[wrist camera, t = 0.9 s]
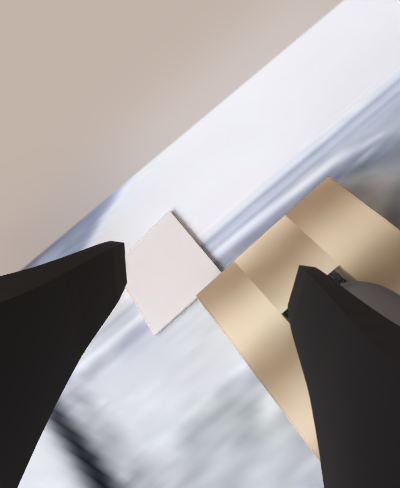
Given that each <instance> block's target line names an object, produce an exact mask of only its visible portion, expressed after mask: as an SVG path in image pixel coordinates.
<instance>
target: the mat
mask: <svg viewBox="0 0 400 488" xmlns="http://www.w3.org/2000/svg"><path fill="white" fill-rule="evenodd" d="M125 260H126V274H127V284H126V287H125V289H126V290H127V292H128V294H129V295H130V297H131V298H132V300H133V302H134V303H135V305H136V307H137V308H138V310H139V311H140V313H141V315H142V316H143V318H144V320H145V321H146V323H147V324H148V326H149V328H150V329H151V331H152V333H153V334H154V335H157V334H158V333H159V332H160V331H161V330H162V329H164V328H165V327H166V326H167V325H168V324H169V323H170V322H171V321H172V320H174V319H175V318H176V317H177V316H178V315H179V314H180V313H181V312H182V311H184V310H185V309H186V308H187V307H188V306H189V305H190V304H191V303H192V302H194V301H195V300H196V299H197V296H196V295H197V294H198V293H199V292H200V291H201V290H202V289H204V288H205V287H206V286H207V285H208V284H209V283H210V282H211V281H212V280H214V279H215V278H216V277H217V276H218V275H219V274H220V273H221V271H220V270H219V268H218V267H217V266H216V265H215V264H214V263H213V261H212V260H211V259H210V258H209V257H208V255H207V254H206V253H205V252H204V251H203V249H202V248H201V247H200V246H199V245H198V243H197V242H196V241H195V240H194V239H193V237H192V236H191V235H190V234H189V233H188V232H187V230H186V229H185V228H184V227H183V226H182V224H181V223H180V222H179V221H178V220H177V218H176V217H175V216H174V215H173V214H172V212H170V211H169V212H168V213H167V214H166V215H164V216H163V217H162V218H161V219H160V220H159V221H158V222H157V223H156V224H155V225H154V226H153V227H152V228H151V229H150V230H149V231H148V232H147V233H146V234H145V235H144V236H143V237H142V238H141V239H140V240H139V241H138V242H137V243H136V244H135V245H134V246H133V247H132V248H131V249H130V250H129V251H128V252H127V253H126V254H125Z"/></svg>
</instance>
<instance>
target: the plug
mask: <svg viewBox="0 0 400 488" xmlns="http://www.w3.org/2000/svg"><path fill="white" fill-rule="evenodd" d="M340 285H341V286H342V287H344V288H345V289H346V290H348V291H349V292H350V293H352V294H353V295H354V296H356V297H357V298H358V299H360V300H361V301H363V302H364V303H365V304H367V305H368V306H370V307H371V308H373V309H374V310H376V311H377V312H379V313H380V314H381V315H383V316H384V317H386V318H387V319H389V320H391V321H392V322H394V323H395V324H397V325H399V326H400V295H398V294H397V293H395V292H394V291H392V290H390V289H388V288H386V287H384V286H381V285H378V284H375V283H371V282H364V281H351V282H345V283H341V284H340Z"/></svg>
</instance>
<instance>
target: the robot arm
mask: <svg viewBox="0 0 400 488" xmlns="http://www.w3.org/2000/svg"><path fill="white" fill-rule="evenodd" d="M126 284H127V274H126V260H125V247H124V243H122V242H114V241H108V242H104V243H101V244H98V245H95V246H92V247H90V248H87V249H84V250H82V251H79V252H76V253H74V254H71V255H68V256H66V257H63V258H60V259H57V260H54V261H51V262H48V263H45V264H42V265H39V266H36V267H33V268H29V269H26V270H22V271H19V272H15V273H11V274H7V275H3V276H0V488H17V487H18V485H19V483H20V480H21V478H22V476H23V474H24V472H25V469H26V467H27V465H28V463H29V460H30V458H31V456H32V454H33V451H34V449H35V447H36V445H37V442H38V440H39V438H40V436H41V434H42V432H43V430H44V428H45V426H46V424H47V422H48V420H49V417H50V415H51V413H52V411H53V409H54V407H55V405H56V403H57V401H58V399H59V397H60V395H61V394H62V392H63V390H64V388H65V386H66V384H67V382H68V380H69V378H70V376H71V375H72V373H73V371H74V369H75V367H76V365H77V364H78V362H79V360H80V358H81V356H82V355H83V353H84V352H85V350H86V348H87V347H88V345H89V344H90V342H91V341H92V339H93V338H94V337H95V335H96V334H97V332H98V331H99V329H100V328H101V326H102V325H103V323H104V322H105V321H106V319H107V318H108V316H109V315H110V313H111V312H112V310H113V309H114V307H115V306H116V304H117V303H118V301H119V299H120V297H121V295H122V293H123V291H124V289H125V287H126ZM288 314H289V322H290V328H291V332H292V336H293V339H294V343H295V346H296V350H297V353H298V357H299V360H300V364H301V367H302V370H303V374H304V377H305V381H306V384H307V389H308V393H309V397H310V402H311V408H312V413H313V419H314V424H315V430H316V436H317V442H318V449H319V455H320V461H321V468H322V475H323V482H324V488H400V326H399V325H397V324H395V323H394V322H392V321H391V320H389V319H387V318H386V317H384V316H383V315H381V314H380V313H379V312H377V311H376V310H374V309H373V308H371V307H370V306H368V305H367V304H365V303H364V302H363V301H361V300H360V299H358V298H357V297H356V296H354V295H353V294H352V293H350V292H349V291H348V290H346V289H345V288H344V287H342V286H341V285H340V284H338V283H337V282H336V281H334V280H333V279H332V278H330V277H329V276H328V275H326V274H325V273H324V272H322V271H321V270H319V269H318V268H316V267H311V266H303V265H299V267H298V271H297V274H296V278H295V281H294V285H293V288H292V292H291V295H290V299H289V302H288Z"/></svg>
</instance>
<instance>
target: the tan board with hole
mask: <svg viewBox="0 0 400 488" xmlns="http://www.w3.org/2000/svg"><path fill="white" fill-rule="evenodd" d="M299 265H303V266H311V267H316V268H318V269H319V270H321V271H322V272H324V273H325V274H326V275H328V274H329V273H330V272H332V271H333V270H335V271H336V272H337V273H338V274H339V275H340V276H341V277H342V278H343V279H344V280H345V281H347V282H351V281H364V282H371V283H375V284H378V285H381V286H384V287H386V288H388V289H390V290H392V291H394V292H395V293H397V294H398V295H400V230H399V229H398V228H396V227H395V226H394V225H392V224H391V223H390V222H388V221H387V220H386V219H384V218H383V217H382V216H380V215H379V214H378V213H376V212H375V211H374V210H372V209H371V208H370V207H368V206H367V205H366V204H364V203H363V202H362V201H360V200H359V199H358V198H356V197H355V196H354V195H353V194H351V193H350V192H349V191H347V190H346V189H345V188H343V187H342V186H341V185H339V184H338V183H337V182H335V181H334V180H333V179H331V178H330V177H329V176H328V177H326V178H325V179H324V180H323V181H322V182H321V183H320V184H319V185H318V186H316V187H315V188H314V189H313V190H312V191H311V192H310V193H309V194H308V195H306V196H305V197H304V198H303V199H302V200H301V201H300V202H299V203H298V204H297V205H295V206H294V207H293V208H292V209H291V210H290V211H289V212H288V213H287V214H285V215H284V216H283V217H282V218H281V219H280V220H279V221H278V222H277V223H276V224H274V225H273V226H272V227H271V228H270V229H269V230H268V231H267V232H266V233H264V234H263V235H262V236H261V237H260V238H259V239H258V240H257V241H256V242H254V243H253V244H252V245H251V246H250V247H249V248H248V249H247V250H246V251H245V252H243V253H242V254H241V255H240V256H239V257H238V258H237V259H236V260H235V261H233V262H232V263H231V264H230V265H229V266H228V267H227V268H226V269H225V270H223V271H222V272H221V273H220V274H219V275H218V276H217V277H216V278H215V279H214V280H212V281H211V282H210V283H209V284H208V285H207V286H206V287H205V288H204V289H202V290H201V291H200V292H199V293H198V294H197V295H196V296H197V298H198V299H199V300H200V302H201V303H202V304H203V306H204V307H205V308H206V310H207V311H208V312H209V314H210V315H211V316H212V318H213V319H214V320H215V322H216V323H217V324H218V326H219V327H220V328H221V330H222V331H223V332H224V334H225V335H226V336H227V338H228V339H229V340H230V342H231V343H232V344H233V346H234V347H235V348H236V350H237V351H238V352H239V354H240V355H241V356H242V358H243V359H244V360H245V362H246V363H247V364H248V366H249V367H250V368H251V370H252V371H253V372H254V374H255V375H256V376H257V378H258V379H259V380H260V382H261V383H262V384H263V386H264V387H265V388H266V390H267V391H268V392H269V394H270V395H271V397H272V398H273V399H274V401H275V402H276V403H277V405H278V406H279V407H280V409H281V410H282V411H283V413H284V414H285V415H286V417H287V418H288V419H289V421H290V422H291V423H292V425H293V426H294V427H295V429H296V430H297V431H298V433H299V434H300V435H301V437H302V438H303V439H304V441H305V442H306V443H307V445H308V446H309V447H310V449H311V450H312V451H313V453H314V454H315V455H316V457H317V458H318V459H319V461H320V455H319V449H318V442H317V436H316V430H315V424H314V419H313V413H312V408H311V402H310V397H309V393H308V389H307V384H306V381H305V377H304V374H303V370H302V367H301V364H300V360H299V357H298V353H297V350H296V346H295V343H294V339H293V336H292V332H291V328H290V322H289V319H288V317H287V316H286V315H285V314H284V313H283V312H284V311H285V310H286V309H288V302H289V299H290V295H291V292H292V288H293V285H294V281H295V278H296V274H297V271H298V267H299ZM320 462H321V461H320Z"/></svg>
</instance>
